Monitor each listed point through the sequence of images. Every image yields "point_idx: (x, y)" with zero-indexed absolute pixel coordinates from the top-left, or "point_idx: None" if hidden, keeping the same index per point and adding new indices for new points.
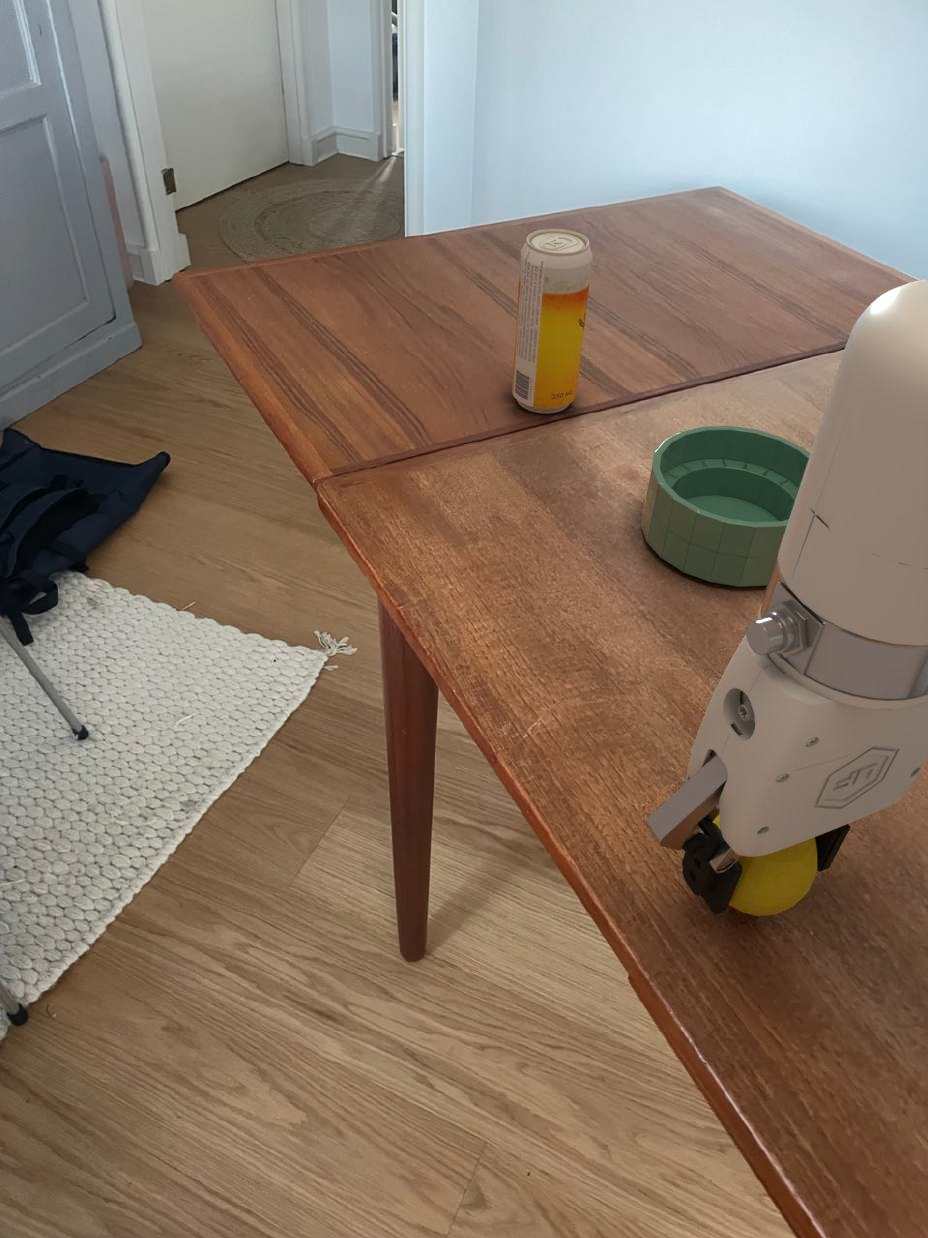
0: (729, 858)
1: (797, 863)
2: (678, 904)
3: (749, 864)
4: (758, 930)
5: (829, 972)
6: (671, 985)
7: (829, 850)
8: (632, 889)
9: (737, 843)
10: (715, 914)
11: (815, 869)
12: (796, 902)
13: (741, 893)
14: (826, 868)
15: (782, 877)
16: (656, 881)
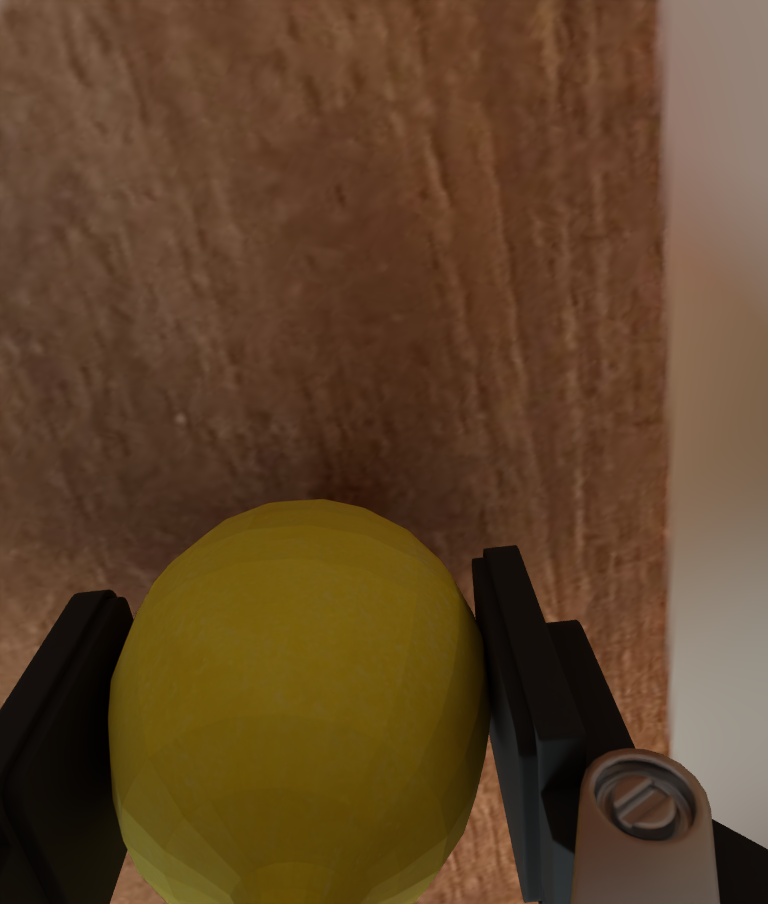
0: (658, 848)
1: (255, 699)
2: None
3: (443, 725)
4: (323, 460)
5: (182, 302)
6: (631, 385)
7: (63, 678)
8: None
9: None
10: (514, 545)
11: (154, 631)
12: (254, 525)
13: (449, 602)
14: (83, 596)
15: (330, 650)
16: None
